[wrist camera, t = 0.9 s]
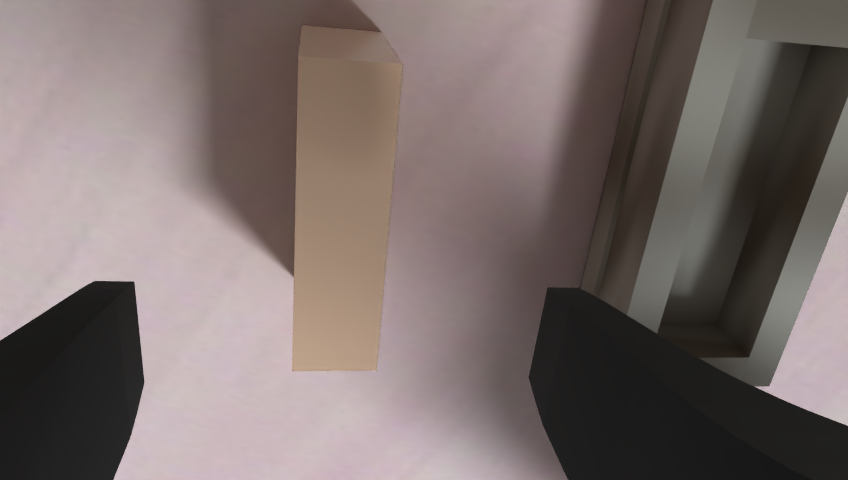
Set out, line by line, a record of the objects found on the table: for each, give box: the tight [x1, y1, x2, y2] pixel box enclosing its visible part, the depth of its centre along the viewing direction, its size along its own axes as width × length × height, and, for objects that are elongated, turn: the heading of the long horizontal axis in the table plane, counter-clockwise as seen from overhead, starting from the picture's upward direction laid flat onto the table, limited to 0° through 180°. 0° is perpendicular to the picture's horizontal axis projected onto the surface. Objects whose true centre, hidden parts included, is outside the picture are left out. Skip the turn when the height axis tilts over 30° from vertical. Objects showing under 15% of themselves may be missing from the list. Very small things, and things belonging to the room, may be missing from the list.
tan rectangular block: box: [292, 25, 403, 371], centre depth 17 cm, size 8×2×5 cm, turn 174°
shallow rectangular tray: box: [580, 0, 848, 386], centre depth 20 cm, size 12×6×3 cm, turn 174°
